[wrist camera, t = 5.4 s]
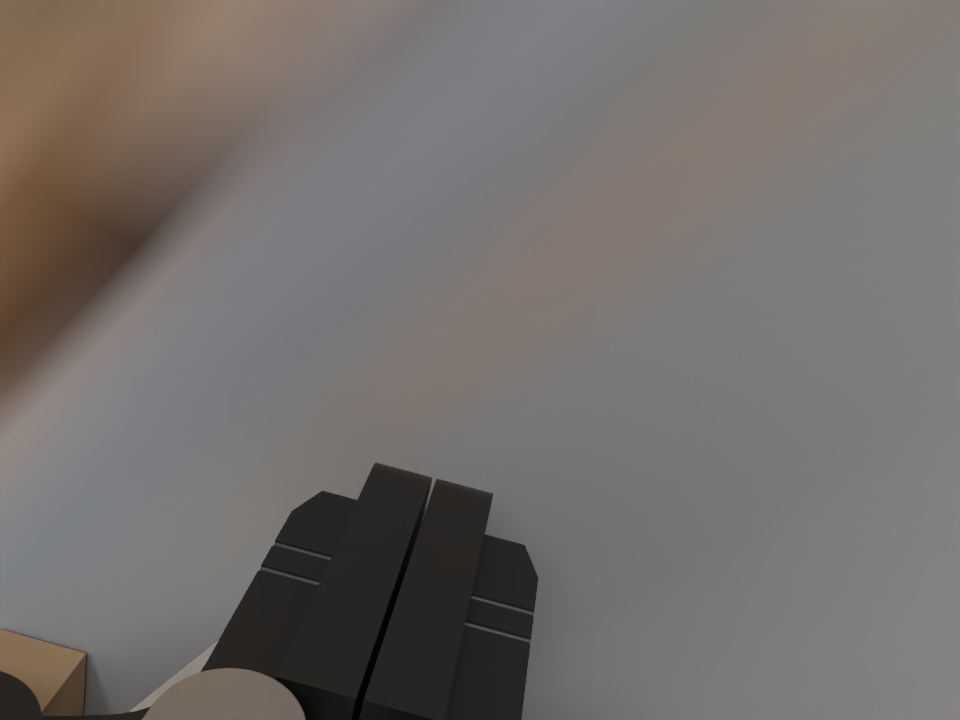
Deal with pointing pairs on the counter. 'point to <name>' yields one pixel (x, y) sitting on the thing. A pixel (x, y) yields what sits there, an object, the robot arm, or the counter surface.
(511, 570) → the robot arm
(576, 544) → the counter surface
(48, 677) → the wooden frame
